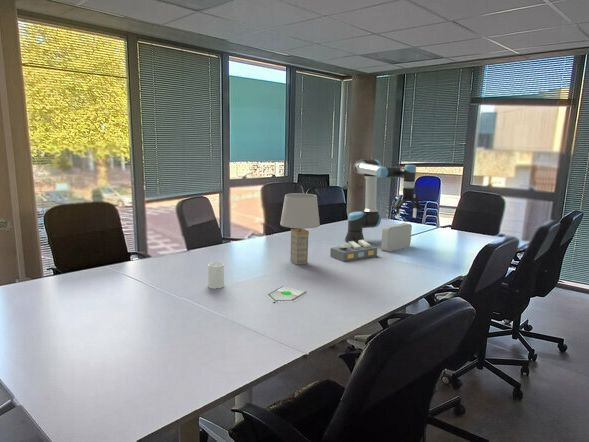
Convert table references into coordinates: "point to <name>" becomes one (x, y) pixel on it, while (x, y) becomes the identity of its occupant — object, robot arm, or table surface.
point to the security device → (286, 294)
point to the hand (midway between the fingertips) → (406, 218)
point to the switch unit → (353, 253)
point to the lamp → (300, 223)
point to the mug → (215, 275)
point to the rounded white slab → (396, 237)
